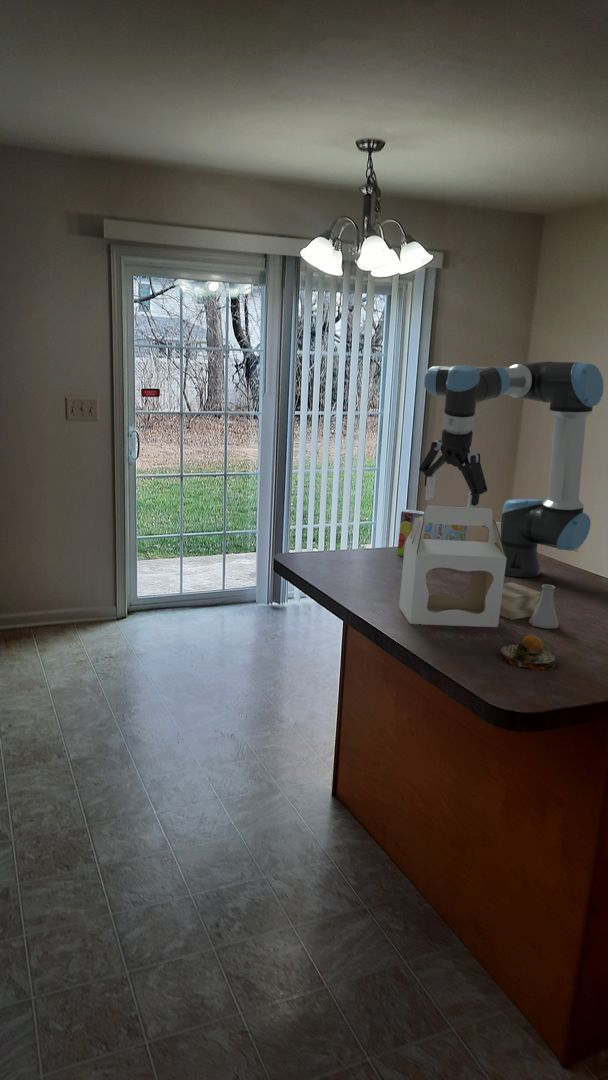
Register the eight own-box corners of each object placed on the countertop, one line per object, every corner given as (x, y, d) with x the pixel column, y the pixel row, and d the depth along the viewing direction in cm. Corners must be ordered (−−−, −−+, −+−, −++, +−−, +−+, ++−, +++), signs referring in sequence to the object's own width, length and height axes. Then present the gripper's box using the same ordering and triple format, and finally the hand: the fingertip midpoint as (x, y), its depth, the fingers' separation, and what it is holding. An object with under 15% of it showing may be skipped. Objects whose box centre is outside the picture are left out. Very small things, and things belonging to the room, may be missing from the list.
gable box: (482, 611, 200) (495, 504, 194) (499, 627, 187) (513, 513, 181) (397, 607, 198) (408, 499, 192) (408, 624, 185) (420, 509, 179)
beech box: (509, 603, 207) (512, 582, 206) (539, 615, 199) (542, 593, 198) (481, 607, 202) (484, 585, 201) (511, 619, 193) (513, 596, 192)
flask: (560, 631, 187) (565, 591, 185) (529, 627, 189) (534, 588, 186) (556, 622, 194) (562, 583, 192) (527, 618, 196) (532, 580, 193)
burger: (545, 652, 172) (549, 620, 171) (564, 672, 161) (569, 638, 159) (491, 650, 172) (495, 617, 170) (507, 670, 160) (511, 635, 159)
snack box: (463, 562, 252) (468, 516, 249) (459, 565, 247) (464, 519, 244) (401, 552, 260) (405, 508, 257) (396, 555, 255) (400, 510, 252)
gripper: (409, 419, 199) (404, 495, 208) (489, 446, 182) (478, 527, 192) (429, 414, 203) (422, 488, 213) (508, 439, 186) (497, 518, 196)
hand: (449, 507), depth 202 cm, fingers open, 13 cm apart
